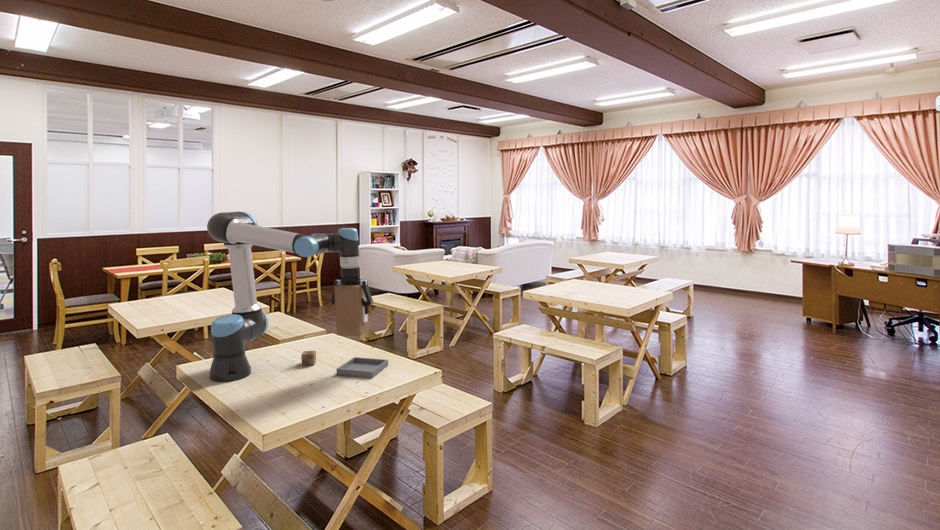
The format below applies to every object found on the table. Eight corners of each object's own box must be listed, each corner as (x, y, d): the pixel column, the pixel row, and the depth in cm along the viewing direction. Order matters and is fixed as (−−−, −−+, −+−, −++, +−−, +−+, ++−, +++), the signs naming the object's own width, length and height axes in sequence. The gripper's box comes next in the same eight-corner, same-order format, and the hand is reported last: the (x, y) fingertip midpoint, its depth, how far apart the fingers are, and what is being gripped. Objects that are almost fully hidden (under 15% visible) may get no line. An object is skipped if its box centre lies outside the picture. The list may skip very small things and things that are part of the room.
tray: (336, 374, 207) (336, 368, 206) (354, 362, 222) (354, 357, 221) (372, 378, 203) (372, 371, 203) (388, 365, 218) (388, 359, 218)
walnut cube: (301, 366, 218) (301, 354, 217) (304, 362, 223) (303, 351, 222) (314, 365, 218) (313, 354, 218) (316, 361, 223) (315, 350, 222)
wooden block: (359, 336, 203) (357, 286, 201) (336, 335, 205) (333, 286, 203) (369, 330, 213) (367, 282, 210) (347, 329, 215) (344, 281, 213)
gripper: (319, 267, 205) (322, 322, 208) (372, 268, 199) (374, 324, 202) (329, 265, 212) (332, 318, 215) (380, 265, 207) (382, 320, 209)
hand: (353, 321), depth 209 cm, fingers closed on wooden block, 10 cm apart
